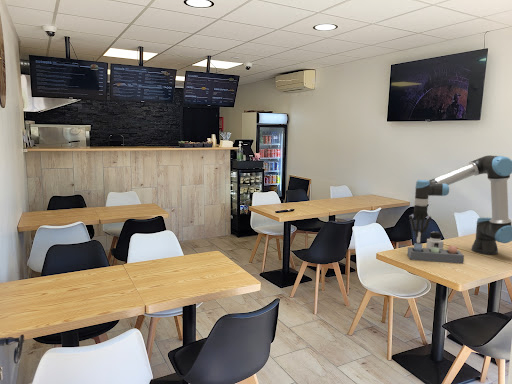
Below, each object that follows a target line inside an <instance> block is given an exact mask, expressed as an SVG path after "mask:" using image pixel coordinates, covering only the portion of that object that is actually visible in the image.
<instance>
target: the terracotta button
mask: <svg viewBox="0 0 512 384" xmlns="http://www.w3.org/2000/svg"><path fill="white" fill-rule="evenodd" d="M447 250H448V253H449V254H457V250H458V246H456V245H451V244H450V245H448V249H447Z"/></svg>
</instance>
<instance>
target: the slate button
mask: <svg viewBox="0 0 512 384" xmlns="http://www.w3.org/2000/svg"><path fill="white" fill-rule="evenodd" d="M413 248H414V251H419V252H422V248H423V243H421V242H420V243H417V242H416V243H414V244H413Z"/></svg>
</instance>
